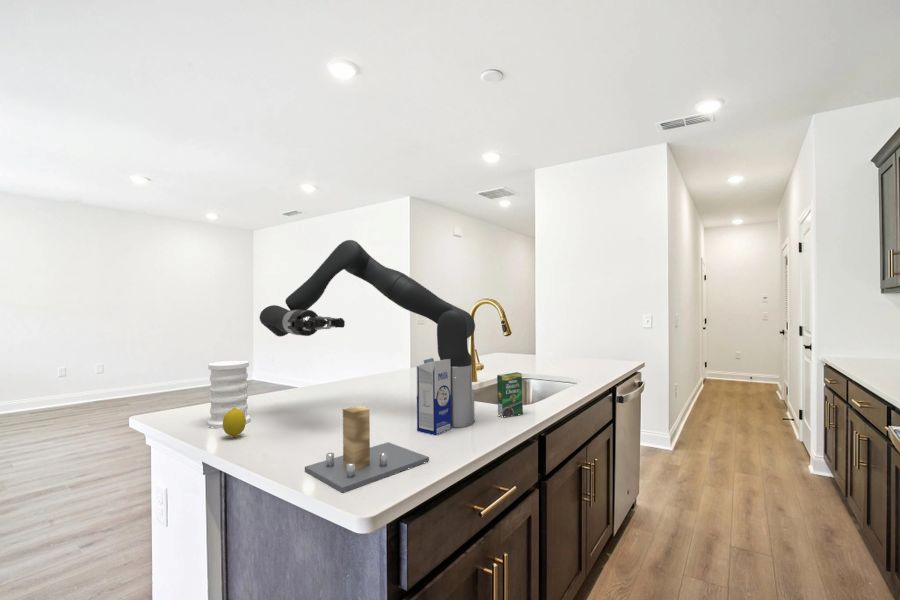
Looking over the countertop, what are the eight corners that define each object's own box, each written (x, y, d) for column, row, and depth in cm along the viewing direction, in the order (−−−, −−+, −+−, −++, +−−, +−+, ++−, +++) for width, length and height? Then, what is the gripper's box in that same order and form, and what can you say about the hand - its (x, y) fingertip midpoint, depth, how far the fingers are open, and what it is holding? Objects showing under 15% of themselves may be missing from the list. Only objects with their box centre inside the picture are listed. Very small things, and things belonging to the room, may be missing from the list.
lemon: (240, 433, 119) (239, 404, 120) (249, 437, 116) (249, 407, 116) (219, 438, 115) (218, 408, 115) (228, 442, 112) (228, 411, 112)
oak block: (359, 460, 95) (358, 405, 95) (369, 465, 92) (369, 409, 92) (343, 465, 92) (342, 409, 92) (353, 470, 90) (353, 412, 90)
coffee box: (502, 418, 133) (501, 375, 133) (496, 416, 135) (496, 374, 135) (523, 414, 136) (523, 373, 136) (517, 412, 139) (517, 371, 139)
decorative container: (228, 430, 122) (228, 366, 122) (197, 426, 126) (197, 364, 126) (259, 419, 133) (258, 361, 133) (229, 416, 137) (229, 359, 137)
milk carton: (435, 435, 116) (434, 360, 116) (416, 431, 120) (416, 358, 120) (451, 429, 122) (450, 357, 122) (432, 425, 126) (432, 356, 126)
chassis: (388, 446, 108) (388, 432, 108) (429, 461, 97) (429, 445, 97) (304, 471, 92) (304, 454, 92) (342, 492, 81) (342, 474, 81)
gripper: (276, 310, 122) (303, 310, 111) (322, 309, 132) (352, 309, 121) (276, 336, 122) (304, 340, 111) (322, 333, 132) (352, 336, 121)
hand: (329, 324), depth 116 cm, fingers open, 8 cm apart
